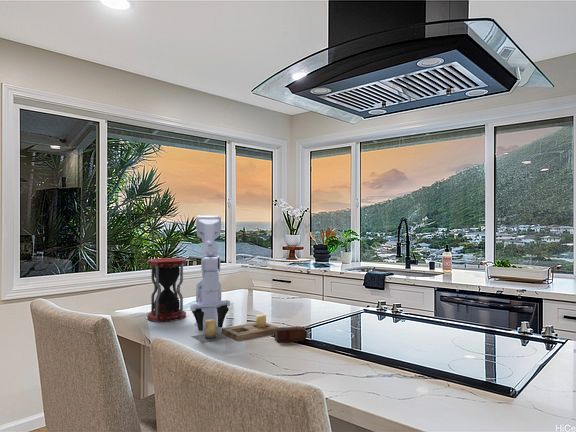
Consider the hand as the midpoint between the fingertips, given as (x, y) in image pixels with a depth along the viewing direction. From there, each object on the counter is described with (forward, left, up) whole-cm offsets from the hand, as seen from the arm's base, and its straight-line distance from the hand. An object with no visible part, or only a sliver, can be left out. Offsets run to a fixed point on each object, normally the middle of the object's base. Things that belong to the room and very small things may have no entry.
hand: (210, 328), depth 147 cm
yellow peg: (0, 0, -3) cm, 3 cm away
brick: (+19, +21, -4) cm, 29 cm away
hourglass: (-40, -1, -4) cm, 40 cm away
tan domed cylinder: (+3, +20, -4) cm, 20 cm away
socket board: (+3, +15, -3) cm, 16 cm away
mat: (-1, 0, -3) cm, 3 cm away
